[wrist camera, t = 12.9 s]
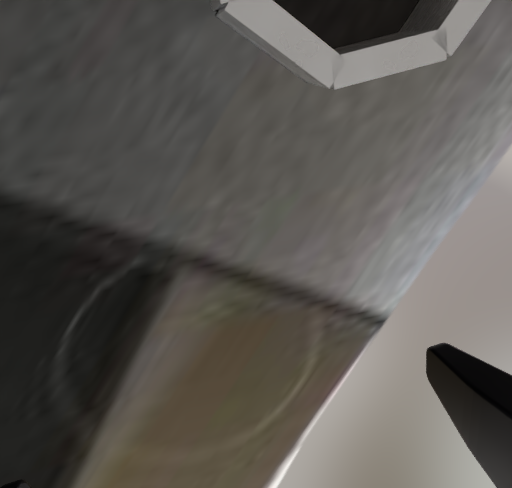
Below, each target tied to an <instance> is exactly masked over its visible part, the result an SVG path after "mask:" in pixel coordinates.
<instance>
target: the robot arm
mask: <svg viewBox="0 0 512 488" xmlns="http://www.w3.org/2000/svg"><path fill="white" fill-rule="evenodd" d="M426 359H427V360H426V373H427V377H428V380H429V382H430V384H431V386H432V387H433V389H434V391H435V393H436V394H437V396H438V398H439V399H440V401H441V403H442V405H443V406H444V408H445V410H446V411H447V413H448V415H449V416H450V418H451V420H452V422H453V423H454V425H455V427H456V428H457V430H458V432H459V433H460V435H461V437H462V438H463V440H464V442H465V443H466V445H467V447H468V448H469V449H470V451H471V452H472V454H473V455H474V457H475V458H476V460H477V461H478V462H479V464H480V465H481V466H482V468H483V469H484V471H485V472H486V473H487V475H488V476H489V478H490V479H491V480H492V482H493V483H494V484H495V486H496V487H497V488H512V375H510V374H508V373H506V372H504V371H502V370H500V369H498V368H496V367H494V366H492V365H490V364H487V363H486V362H484V361H482V360H480V359H478V358H476V357H474V356H472V355H470V354H468V353H466V352H464V351H462V350H460V349H458V348H456V347H454V346H452V345H450V344H446V343H440V344H437V345H434V346H431V347H429V348H428V349H427V352H426ZM0 488H32V487H31V486H30V484H29V483H28V482H27V481H25V480H18V481H14V482H11V483H8V484H5V485H3V486H2V487H0Z"/></svg>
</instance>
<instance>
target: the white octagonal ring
mask: <svg viewBox="0 0 512 488" xmlns="http://www.w3.org/2000/svg"><path fill="white" fill-rule="evenodd" d="M490 1H491V0H420V1H419V2H418V4H417V5H416V7H415V8H414V10H413V11H412V13H411V14H410V16H409V17H408V19H407V20H406V22H405V23H404V25H403V26H402V28H401V30H400V31H399V32H397V33H393V34H389V35H385V36H382V37H378V38H374V39H370V40H366V41H362V42H358V43H354V44H350V45H347V46H343V47H339V48H335V49H332V48H331V47H330V46H329V45H327V44H326V43H325V42H324V41H322V40H321V39H320V38H319V37H317V36H316V35H315V34H314V33H313V32H311V31H310V30H309V29H308V28H306V27H305V26H304V25H303V24H301V23H300V22H299V21H298V20H296V19H295V18H294V17H293V16H291V15H290V14H289V13H288V12H287V11H285V10H284V9H283V8H282V7H280V6H279V5H278V4H277V3H275V2H274V1H273V0H210V3H211V8H212V11H215V10H218V12H217V14H216V17H217V18H219V19H220V20H221V21H223V22H224V23H226V24H227V25H228V26H230V27H231V28H232V29H234V30H235V31H236V32H238V33H239V34H241V35H242V36H243V37H245V38H246V39H247V40H249V41H250V42H251V43H253V44H254V45H256V46H257V47H258V48H260V49H261V50H262V51H264V52H265V53H266V54H268V55H269V56H270V57H272V58H273V59H275V60H276V61H277V62H279V63H280V64H281V65H283V66H284V67H285V68H287V69H288V70H290V71H291V72H292V73H294V74H295V75H296V76H298V77H299V78H300V79H302V80H303V81H305V82H306V83H309V84H313V85H317V86H321V87H325V88H330V89H334V90H335V89H338V88H342V87H346V86H350V85H353V84H357V83H361V82H365V81H368V80H372V79H376V78H380V77H384V76H387V75H391V74H395V73H399V72H402V71H406V70H410V69H414V68H417V67H421V66H425V65H429V64H432V63H436V62H440V61H444V60H446V56H452V54H453V53H454V51H455V50H456V49H457V47H458V46H459V44H460V43H461V42H462V40H463V39H464V38H465V36H466V35H467V33H468V32H469V31H470V29H471V28H472V26H473V25H474V24H475V22H476V21H477V19H478V18H479V17H480V15H481V14H482V12H483V11H484V10H485V8H486V7H487V5H488V4H489V3H490Z"/></svg>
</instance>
